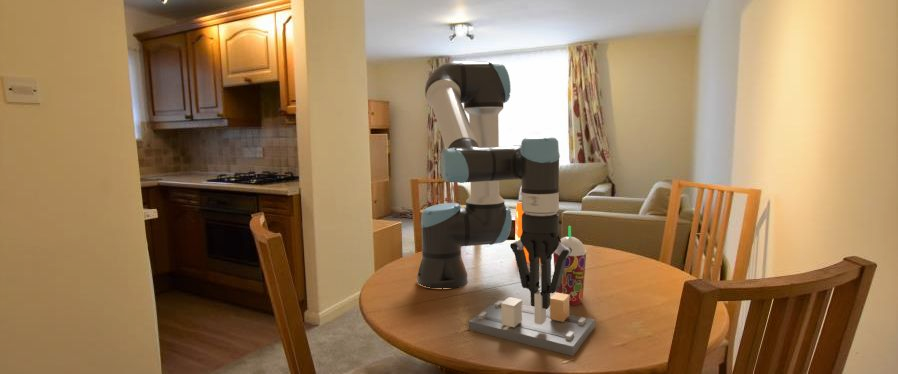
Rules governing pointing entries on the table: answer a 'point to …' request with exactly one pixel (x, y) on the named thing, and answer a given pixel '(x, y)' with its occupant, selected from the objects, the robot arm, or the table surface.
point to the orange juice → (520, 227)
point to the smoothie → (572, 269)
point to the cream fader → (511, 312)
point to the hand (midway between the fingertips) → (540, 321)
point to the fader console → (535, 329)
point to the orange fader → (559, 306)
